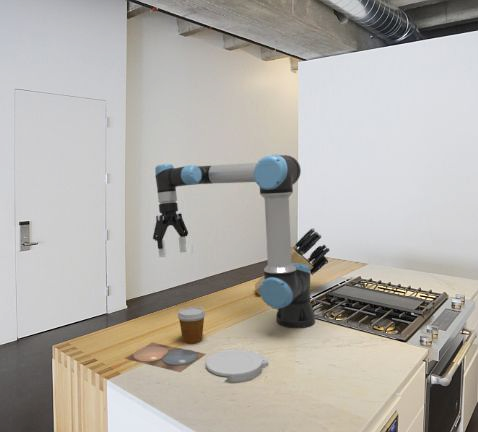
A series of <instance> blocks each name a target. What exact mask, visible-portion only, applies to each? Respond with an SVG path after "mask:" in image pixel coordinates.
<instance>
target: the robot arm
mask: <svg viewBox="0 0 478 432" xmlns="http://www.w3.org/2000/svg"><path fill="white" fill-rule="evenodd" d="M154 169H155V170H154V171H155V181H156V188H157V189H156V190H157V198H158V199H157V201H158V203H159V204H158V211H159V213H160V215H159V214H158V215H156V216H155V218H156V219H155V220H156V221H155V225H154V230H153V235H152V239H153V240H154V241H155V242H156V243H157V249H158V254H159V255H158V256H159V258H166V257H167V253H166V243H165V242H166V241H165V239H164V237H165V235H166V233H167V230H168V227H169V226H172V227H173V228H174V230H175V231H176V232H177V234H178V235H179V237H178V244H179V253H187V243H186V237H188V235H189V231H188V228H187V226H186V223H185V222H184V219H183V214H182V213H177V212H178V211H179V207H178V203H177V201H178V197H177V188H178V187H183V186H194V185H196V186H197V185H210V184H212V185H214V184H238V183H239V184H240V183H242V184H243V183H256V184H257V185H258V187H259V195H260V196H261V197H262V198H263V199H264V213H265V233H266V234H265V235H266V254H267V255H266V256H267V257H266V258H267V265H266V266H265V267H264V268H263V275H264V281H263V282H262V284H261V286H260V295H261V296H260V295H259V296H260V297H261V299H262V301H263V302H264V303H265V304H266V305H267V306H269V307H271V308H273V309H277V312H276V316H275V319H276V320H275V321H276V324H277V325H280V327H281V326H282V327H285V328H292V329H301V328H303V329H304V328H308V327H310V326H313V325H314V324H315V322H316V316H315V312H314V309H313V306H312V304H311V272H310V268H309V266H308V265H306V264H299V263H292V262H291V247H292V243H291V239H292V238H291V220H290V200H289V199H290V196H292V194H293V192H294V189H293V187H294V186H293V185H295V184H296V183H297V182H298V180H299V179H300V176H301V174H302V172H301V171H302V169H301V165H300V164H299V161H298V160H297V159H296V158H295V157H292V156H291V155H286V154H285V155H284V154H283V155H282V154H269V155H266V156H265V155H264V156H263V157H261V158H260V159H259V160H258V161H257V162H247V163H231V164H218V165H217V164H215V165H198V166H197V165H195V164H193V165H192V164H191V165H190V164H189V165H185V166H179V167H174V165H173V164H172V163H165V164H157V165H156V166H155V167H154Z"/></svg>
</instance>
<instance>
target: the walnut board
mask: <svg viewBox="0 0 478 432" xmlns="http://www.w3.org/2000/svg"><path fill="white" fill-rule="evenodd" d="M153 346H157V347H163V348H166V349H167V350H168V352H170V351H174V350H181V349H182V348H180V347H176V346H170V345H167V344H162V343H157V342H151V343H149V344H147V345H145V346H144V347H143V348H146V347H153ZM193 351H194V352H196V353H197V359H196V360H195V361H194V362H192V363H189V364H186V365H179V366H174V365H168V364H166V363H164V362H163V361H162V359H161V360H158V361H153V362H141V361H137V360H135V359H134V353H135V352H133V353H131V354H130V355H128V356H125V357H124V358H123V359H124V360H129V361H133V362H137V363H141V364H146V365H150V366H153V367H157V368H162V369H165V370H170V371H173V372H177V373H181V372H183V371H185V370H186V369H187V368H188V367H190V366H191V365H193V364H194V363H196V362H197V361H199V360H200V359H202V358H203V357H204V356H205V355H207V353H203V352H199V351H195V350H193Z"/></svg>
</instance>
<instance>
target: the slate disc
mask: <svg viewBox="0 0 478 432" xmlns="http://www.w3.org/2000/svg"><path fill="white" fill-rule="evenodd" d="M194 351H195V350H191V349H185V348H181V350H174V351H170V352H168V353H167V355H166V354H165V355H166V356H164V357H162V361H163V362H164V363H166V364H168V365H174V366H179V365H186V364H189V363H192V362H194V361H195V360H196V359H197V353H196V352H197V351H195V352H194ZM194 363H195V362H194Z"/></svg>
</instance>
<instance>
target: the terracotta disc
mask: <svg viewBox="0 0 478 432" xmlns="http://www.w3.org/2000/svg"><path fill="white" fill-rule="evenodd" d="M133 353H134V359H135V360H137V361H141V362H153V361H158V360H161V359H162V357H164V356H166V355H167V353H168V350H167V349H166V348H163V347H157V346H153V347H146V348H144V347H142V348H140V349H138V350H136V351H135V352H133ZM165 354H166V355H165Z"/></svg>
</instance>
